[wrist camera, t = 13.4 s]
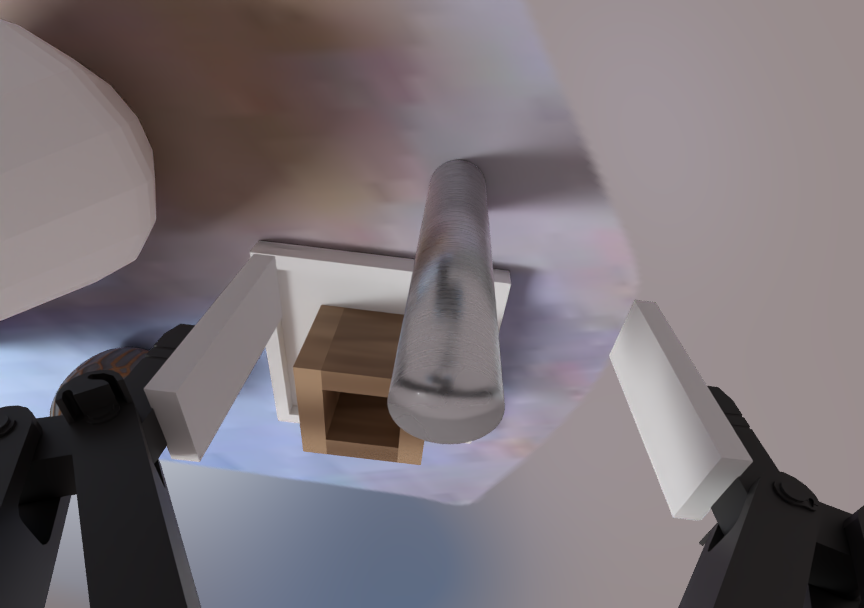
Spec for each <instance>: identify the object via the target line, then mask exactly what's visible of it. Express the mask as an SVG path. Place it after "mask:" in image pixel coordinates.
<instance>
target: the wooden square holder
mask: <svg viewBox="0 0 864 608" xmlns="http://www.w3.org/2000/svg"><path fill="white" fill-rule="evenodd" d="M403 318H404V315H403V314H395V313H386V312H378V311H370V310H361V309H353V308H345V307H336V306H328V305H321V306H320V309H319V311H318V313H317V315H316V317H315V320H314V322H313V324H312V326H311V328H310V331H309V333H308V335H307V337H306V339H305V342H304V344H303V346H302V348H301V350H300V353H299V355H298V357H297V359H296V361H295V364H294V366H293V372H294V380H295V388H296V396H297V404H298V412H299V420H300V428H301V436H302V444H303V451H305V452H314V453H322V454H331V455H339V456H348V457H356V458H365V459H373V460H382V461H390V462H399V463H407V464H416V465H421V459H422V452H423V445H424V440H422V439H419V438H417V437H414V436H412V435H411V434H409V433H407V432H406V431H404V430H403V429H401V428H400V427H399V426H398V425H397V424H396V423H395V421H394V420H393V418H392V417H391V415H390V413H389V410H388V403H387V400H388V394H389V389H390V384H391V379H392V374H393V369H394V364H395V359H396V353H397V348H398V343H399V338H400V333H401V328H402V323H403Z"/></svg>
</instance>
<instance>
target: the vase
mask: <svg viewBox="0 0 864 608" xmlns="http://www.w3.org/2000/svg"><path fill="white" fill-rule="evenodd" d="M148 352H149V351H148V350H145V349H141V348H133V347H123V348H115V349H110V350H107V351H104V352H101V353H99V354H97V355H95V356H93V357H91V358H90V359H88V360H86V361H85V362H83V363H82V364H81V365H80V366H78V367H77V368H76V369H75V370H74V371H73V372H72V373H71V374H70V375H69V376H68V377H67V378H66V379H65V380H64V382H63V383H62V384H61V386H60V388H59V389H58V391H59V390H60V389H61V387H62V386H63V385H64V384H65V383H67V382H68V381H70V380H71V379H73V378H74V377H77V376H79V375H82V374H84V373H87V372H91V371H96V370H112V371H115V372H117V373H120V375H121V376H122V378H123V379H125V378H126V377H127V375H128V374H129V373H130V372H131V371H132V370H133V369H134V368H135V366H136V365H137V364H138V363H139V362H140V361H141V360H142V359H143V358H145V355H146V354H147V353H148ZM58 391H57V392H58ZM56 394H57V393H56ZM55 398H56V395H55V397H54V399H53V402H52V405H51V409H50V417H52V416H59V415H63V414H62V412H61V411H60V409H59V407H58V406H57V404H56V402H55Z"/></svg>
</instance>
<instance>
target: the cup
mask: <svg viewBox="0 0 864 608" xmlns="http://www.w3.org/2000/svg"><path fill="white" fill-rule="evenodd" d="M155 222H156V192H155V172H154V158H153V150H152V148H151V146H150V143H149V141H148V139H147V137H146V135H145V132H144V130H143V128H142V126H141V124H140V121H139V119H138V117H137V116H136V115H135V114H134V112H133V111H132V110H131V109H130V108H129V107H128V105H127V104H126V103H125V102H124V101H123V99H122V98H121V97H120V96H119V95H118V94H117V92H116V91H115V90H114V89H113V88H112V86H111V85H110V84H108V83H107V82H106V81H104V80H103V79H101V78H100V77H98V76H97V75H96V74H94V73H93V72H91V71H90V70H89V69H87V68H86V67H84V66H83V65H81V64H80V63H79V62H77V61H76V60H74V59H73V58H71V57H70V56H68V55H66V54H65V53H63V52H61V51H60V50H58V49H57V48H55V47H53V46H52V45H50V44H48V43H47V42H45V41H44V40H42V39H40V38H39V37H37V36H36V35H34V34H32V33H31V32H29V31H27V30H26V29H24V28H23V27H21V26H19V25H17V24H14V23H11V22H8V21H5V20H2V19H0V321H2V320H4V319H7V318H9V317H11V316H14V315H16V314H19V313H21V312H24V311H26V310H29V309H31V308H34V307H36V306H39V305H41V304H44V303H46V302H48V301H51V300H53V299H56V298H58V297H61V296H63V295H66V294H68V293H71V292H73V291H76V290H78V289H80V288H83V287H85V286H88V285H90V284H93V283H95V282H97V281H99V280H101V279H102V278H104V277H106V276H108V275H110V274H111V273H113V272H115V271H117V270H119V269H120V268H122V267H124V266H126V265H128V264H129V263H131V262H133V261H135V260H136V259H137V257H138V255H139V254H140V252H141V250H142V248H143V246H144V244H145V242H146V240H147V238H148V236H149V234H150V232H151V230H152V228H153V226H154V224H155Z"/></svg>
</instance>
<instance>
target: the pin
mask: <svg viewBox="0 0 864 608" xmlns="http://www.w3.org/2000/svg"><path fill="white" fill-rule="evenodd" d="M387 403H388V410H389V413H390V415H391V417H392V418H393V420H394V421H395V423H396V424H397V425H398V426H399V427H400V428H401V429H403V430H404V431H406V432H407V433H409V434H411V435H412V436H414V437H417V438H419V439H422V440H425V441H429V442H433V443H439V444H460V443H466V442H470V441H474V440H476V439H479V438H481V437H483V436H485V435H487V434H488V433H490V432H491V431H492V430H494V429H495V428H496V427H497V425H498V424H499V423H500V421H501V420H502V417H503V415H504V410H505V404H504V392H503V381H502V369H501V357H500V345H499V334H498V322H497V310H496V298H495V286H494V275H493V263H492V251H491V239H490V228H489V216H488V204H487V192H486V182H485V178H484V176H483V174H482V172H481V171H480V170H479V169H478V168H477V167H476V166H475V165H474V164H472V163H470V162H467V161H464V160H452V161H448V162H446V163H444V164H442V165H441V166H439V167H438V168H437V169H436V171H435V172H434V173H433V175H432V177H431V180H430V185H429V190H428V195H427V200H426V205H425V210H424V216H423V221H422V226H421V231H420V236H419V241H418V246H417V251H416V256H415V262H414V267H413V272H412V277H411V282H410V287H409V292H408V297H407V302H406V307H405V313H404V318H403V323H402V328H401V333H400V338H399V343H398V348H397V353H396V359H395V364H394V369H393V374H392V379H391V384H390V389H389V394H388V400H387Z"/></svg>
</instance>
